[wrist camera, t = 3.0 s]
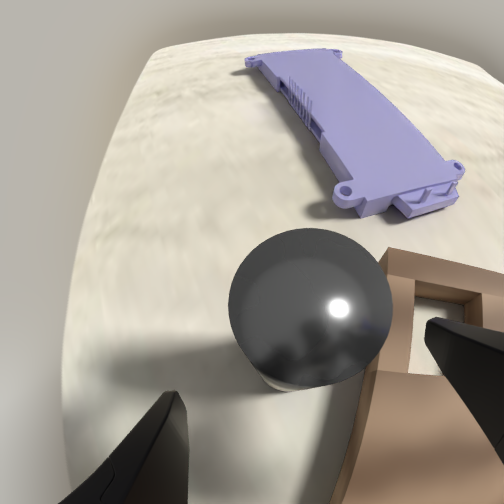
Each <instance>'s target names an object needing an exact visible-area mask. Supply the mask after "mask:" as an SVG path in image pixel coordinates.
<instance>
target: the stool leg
mask: <svg viewBox="0 0 504 504" xmlns="http://www.w3.org/2000/svg"><path fill="white" fill-rule="evenodd" d="M228 309H229V318H230V324H231V327H232V330H233V333H234V336H235V338H236V340H237V342H238V344H239V346H240V347H241V349H242V350H243V352H244V353H245V355H246V356H247V357H248V359H249V360H250V362H251V363H252V364H253V366H254V367H255V369H256V370H257V371H258V373H259V374H260V375H261V377H262V378H263V380H264V381H265V382H266V383H267V384H268V385H270V386H271V387H273V388H274V389H277V390H280V391H285V392H292V391H299V390H304V389H310V388H315V387H321V386H326V385H331V384H334V383H337V382H341V381H343V380H345V379H348V378H350V377H352V376H354V375H355V374H357V373H358V372H360V371H361V370H363V369H364V368H365V367H366V366H367V365H368V364H369V363H371V361H372V360H373V359H374V358H375V357H376V356H377V354H378V353H379V351H380V350H381V348H382V347H383V345H384V343H385V341H386V339H387V337H388V334H389V331H390V327H391V323H392V316H393V301H392V294H391V290H390V286H389V283H388V280H387V278H386V275H385V274H384V272H383V270H382V268H381V266H380V265H379V264H378V262H377V261H376V259H375V258H374V257H373V256H372V255H371V254H370V253H369V252H368V251H367V250H366V249H365V248H363V247H362V246H361V245H360V244H358V243H357V242H355V241H354V240H352V239H350V238H348V237H346V236H344V235H341V234H339V233H336V232H333V231H329V230H324V229H316V228H303V229H295V230H290V231H286V232H283V233H280V234H277V235H275V236H273V237H271V238H269V239H267V240H266V241H264V242H262V243H261V244H259V245H258V246H257V247H256V248H255V249H253V250H252V251H251V252H250V253H249V255H248V256H247V257H246V258H245V259H244V261H243V262H242V263H241V265H240V266H239V268H238V270H237V272H236V274H235V276H234V279H233V281H232V284H231V288H230V293H229V302H228Z"/></svg>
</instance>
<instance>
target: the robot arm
mask: <svg viewBox="0 0 504 504" xmlns="http://www.w3.org/2000/svg"><path fill="white" fill-rule="evenodd" d="M424 340H425V344H426V346H427V348H428V349H429V351H430V353H431V354H432V356H433V358H434V359H435V361H436V363H437V364H438V366H439V368H440V369H441V371H442V373H443V374H444V376H445V377H446V378H447V380H448V381H449V383H450V384H451V385H452V387H453V388H454V389H455V391H456V392H457V394H458V395H459V397H460V398H461V399H462V401H463V402H464V404H465V405H466V407H467V408H468V409H469V411H470V412H471V414H472V415H473V417H474V418H475V420H476V421H477V423H478V424H479V426H480V427H481V429H482V431H483V432H484V434H485V435H486V437H487V438H488V440H489V442H490V443H491V445H492V446H493V448H495V449H494V450H495V452H496V453H497V455H498V457H499V458H500V460H501V462H502V463H503V465H504V332H500V331H496V330H491V329H487V328H482V327H478V326H473V325H469V324H465V323H460V322H456V321H452V320H448V319H443V318H439V317H434V318H432V319H430V320H428V321H427V323H426V329H425V337H424ZM188 472H189V438H188V425H187V411H186V407H185V405H184V403H183V401H182V399H181V397H180V395H179V393H178V392H177V391H175V390H172V391H166V392H164V393H163V394H162V395H161V396H160V397H159V399H158V400H157V401H156V402H155V403H154V405H153V406H152V407H151V408H150V409H149V410H148V412H147V413H146V414H145V415H144V416H143V417H142V419H141V420H140V421H139V422H138V423H137V424H136V426H135V427H134V428H133V429H132V430H131V431H130V433H129V434H128V435H127V436H126V437H125V438H124V439H123V441H122V442H121V443H120V444H119V445H118V446H117V447H116V449H115V450H114V451H113V452H112V453H111V454H110V455H109V457H108V458H107V459H106V460H105V461H104V462H103V463H102V464H101V465H100V466H99V468H98V469H97V470H96V471H95V472H94V473H93V474H92V475H91V476H90V477H89V478H88V479H86V480H85V481H84V482H83V483H82V484H81V485H80V486H79V487H78V488H76V489H75V490H74V491H73V492H72V493H71V494H69V495H68V496H67V497H66V498H65V499H64V500H62V501H61V502H60V503H58V504H188Z"/></svg>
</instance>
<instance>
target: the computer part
mask: <svg viewBox="0 0 504 504" xmlns="http://www.w3.org/2000/svg"><path fill="white" fill-rule="evenodd" d="M341 58H342V51H341V50H338V49H326V48H322V49H304V50H292V51H282V52H273V53H265V54H258V55H257V56H252V57H247V58H245V66H246V67H258V69H259V70H260V71H261V72H262V74H263V75H264V76H265V77H266V78H267V80H268V81H269V82H270V83H271V85H272V86H273V87H274V89H275V90H276V91H277V92H280V90H281V92H282V93H283V94H284V96H285V97H286V98H287V99H288V102H289V104H291V106H292V108H293V109H294V110H295V111H296V113H297V114H298V115H299V117H300V118H301V119H302V121H303V122H304V123H305V125H306V127H308V129H309V131H311V132H312V133H313V134H314V136H315V137H316V139H317V140H318V142H319V143H320V149H319V151H320V153H321V154H322V156H323V157H324V159H325V160H326V162H327V163H328V165H329V167H330V168H331V170H332V171H333V173H334V175H335V176H336V178H337V179H338V181H339V183H338V184H337V185H336V186H335V188H334V192H333V197H332V199H333V202H334V203H335V205H337V206H338V207H340V208H344V209H347V208H351V207H354V208H355V210H356V211H357V213H358V215H359V217H360V219H361V218H365V217H368V216H372V215H375V214H379V213H382V212H386V211H387V208H388V206H390V205H395V206H396V207H397V208H398V209H399V210H400V211H401V212H402V213H403V214H404V215H405V216H406V217H407V218H411V217H415V216H418V215H421V214H424V213H427V212H431V211H434V210H437V209H440V208H443V207H447V206H450V205H453V204H454V203H455V202H456V200H457V199H458V197H459V195H458V193H457V190H456V188H455V187H456V185H457V184H458V182H457V180H460V179H461V178H462V176H463V174H464V173H465V168H464V166H463V165H462V164H461V163H460V162H458V161H456V160H449V161H445V160H444V159H443V158H442V157H441V155H440V154H439V153H438V152H437V151H436V149H435V148H434V147H433V146H432V145H431V144H430V142H429V141H428V140H427V139H426V138H425V137H424V136H423V135H422V133H421V132H420V131H419V130H418V129H417V128H416V127H415V126H414V125H413V124H412V123H411V122H410V121H409V120H408V119H407V118H406V117H405V116H404V115H403V114H402V113H401V112H400V111H399V110H398V109H397V108H396V107H395V106H394V105H393V104H392V103H391V102H390V101H389V100H388V99H387V98H386V97H385V96H384V95H383V94H381V93H380V92H379V91H378V90H377V89H376V88H375V87H374V86H373V85H371V84H370V83H369V82H368V81H367V80H366V79H364V78H363V77H362V76H361V75H360V74H358V73H357V72H356V71H355V70H353V69H352V68H351V67H350V66H348V65H347V64H346V63H345V62H343V61H342V60H341ZM342 194H344V195H347V196H344V195H342Z"/></svg>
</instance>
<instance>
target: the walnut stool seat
mask: <svg viewBox="0 0 504 504" xmlns="http://www.w3.org/2000/svg"><path fill="white" fill-rule="evenodd" d="M378 264H379V265H380V266H381V268H382V270H383V272H384V274H385V275H386V278H387V280H388V283H389V286H390V290H391V294H392V301H393V316H392V323H391V327H390V331H389V334H388V337H387V339H386V341H385V343H384V345H383V347H382V348H381V350H380V351H379V353H378V354H377V356H376V357H375V358H374V359H373V360H372V361H371V363H369V364H368V365H367V366H366V368H365V374H364V379H363V384H362V389H361V394H360V399H359V404H358V408H357V412H356V417H355V421H354V425H353V429H352V433H351V437H350V440H349V444H348V448H347V451H346V455H345V458H344V461H343V465H342V468H341V471H340V474H339V477H338V480H337V483H336V486H335V489H334V492H333V495H332V497H331V500H330V503H329V504H504V465H503V463H502V462H501V460H500V458H499V457H498V455H497V453H496V452H495V450H494V449H495V448H493V446H492V445H491V443H490V442H489V440H488V438H487V437H486V435H485V434H484V432H483V431H482V429H481V427H480V426H479V424H478V423H477V421H476V420H475V418H474V417H473V415H472V414H471V412H470V411H469V409H468V408H467V407H466V405H465V404H464V402H463V401H462V399H461V398H460V397H459V395H458V394H457V392H456V391H455V389H454V388H453V387H452V385H451V384H450V383H449V381H448V380H447V378H446V377H445V376H435V375H422V374H410V373H408V367H409V360H410V351H411V341H412V330H413V316H414V296H417V297H423V298H428V299H434V300H439V301H445V302H451V303H456V304H462V305H464V323H465V324H469V325H473V326H478V327H482V328H487V329H491V330H496V331H500V332H504V274H501V273H497V272H494V271H490V270H486V269H482V268H478V267H473V266H469V265H465V264H461V263H457V262H453V261H448V260H444V259H440V258H436V257H431V256H427V255H422V254H418V253H413V252H409V251H404V250H400V249H395V248H390V247H388V249H387V250H386V252H385V253H384V255H383V256H382V258H381V259H380V261H379V262H378Z"/></svg>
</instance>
